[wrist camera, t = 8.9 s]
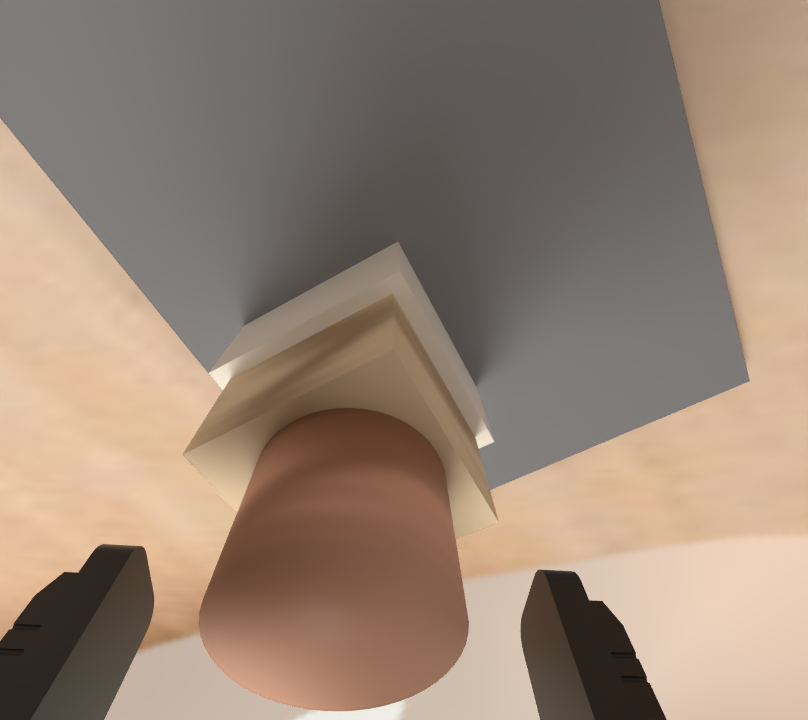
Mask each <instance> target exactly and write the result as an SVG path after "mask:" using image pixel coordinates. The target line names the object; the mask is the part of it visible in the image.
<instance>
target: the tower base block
mask: <svg viewBox="0 0 808 720" xmlns="http://www.w3.org/2000/svg"><path fill="white" fill-rule="evenodd" d="M392 293H393V294H394V296H395V298H396V300H397V301H398V303H399V305H400V307H401V308H402V310H403V312H404V314H405V315H406V317H407V319H408V321H409V322H410V324H411V326H412V328H413V329H414V331H415V333H416V335H417V336H418V338H419V340H420V342H421V343H422V345H423V347H424V349H425V350H426V352H427V354H428V356H429V357H430V359H431V361H432V363H433V364H434V366H435V368H436V369H437V371H438V373H439V375H440V376H441V378H442V380H443V382H444V383H445V385H446V387H447V389H448V390H449V392H450V394H451V396H452V397H453V399H454V401H455V403H456V404H457V406H458V408H459V410H460V411H461V413H462V415H463V417H464V418H465V420H466V422H467V424H468V425H469V427H470V429H471V431H472V432H473V434H474V436H475V438H476V441H477V445H478V449H479V448H482V447H484V446H486V445H488V444H491V443H493V442H494V439H493V436H492V433H491V430H490V427H489V424H488V421H487V418H486V415H485V412H484V409H483V406H482V403H481V400H480V397H479V393H478V390H477V387H476V385H475V383H474V381H473V380H472V378H471V376H470V374H469V372H468V370H467V369H466V367H465V365H464V363H463V361H462V359H461V357H460V356H459V354H458V352H457V350H456V348H455V346H454V344H453V343H452V341H451V339H450V337H449V335H448V333H447V331H446V330H445V328H444V326H443V324H442V322H441V320H440V318H439V317H438V315H437V313H436V311H435V309H434V307H433V305H432V304H431V302H430V300H429V298H428V296H427V294H426V292H425V291H424V289H423V287H422V285H421V283H420V281H419V280H418V278H417V276H416V274H415V272H414V270H413V268H412V267H411V265H410V263H409V261H408V259H407V257H406V255H405V254H404V252H403V250H402V248H401V246H400V244H399V242H396V243H394V244H392V245H391V246H389V247H387V248H385V249H383V250H381V251H380V252H378V253H376V254H374V255H372V256H370V257H369V258H367V259H365V260H363V261H361V262H359V263H358V264H356V265H354V266H352V267H350V268H349V269H347V270H345V271H343V272H341V273H339V274H338V275H336V276H334V277H332V278H330V279H328V280H327V281H325V282H323V283H321V284H319V285H317V286H316V287H314V288H312V289H310V290H308V291H306V292H305V293H303V294H301V295H299V296H297V297H295V298H294V299H292V300H290V301H288V302H286V303H285V304H283V305H281V306H279V307H277V308H275V309H274V310H272V311H270V312H268V313H266V314H264V315H263V316H261V317H259V318H257V319H255V320H253V321H252V322H250V323H248V324H246V325H244V326H243V327H242V328H241V329H240V331H239V332H238V334H237V335H236V336H235V338H234V339H233V340H232V342H231V343H230V344H229V346H228V347H227V349H226V350H225V351H224V353H223V354H222V355H221V357H220V358H219V360H218V361H217V362H216V364H215V365H214V366H213V368H212V369H211V370H210V372H209V374H210V375H211V377H212V378H213V379H214V380H215V382H216V383H217V384H218V385H219V386H220V388H221V389H222V390H224V388H225V386H226V385H227V383H228V382H229V380H230V379H231V378H233V377H234V376H236V375H238V374H240V373H242V372H244V371H246V370H248V369H250V368H252V367H253V366H255V365H257V364H259V363H261V362H263V361H265V360H267V359H269V358H270V357H272V356H274V355H276V354H278V353H280V352H282V351H284V350H286V349H288V348H289V347H291V346H293V345H295V344H297V343H299V342H301V341H303V340H305V339H307V338H308V337H310V336H312V335H314V334H316V333H318V332H320V331H322V330H324V329H326V328H327V327H329V326H331V325H333V324H335V323H337V322H339V321H341V320H343V319H345V318H346V317H348V316H350V315H352V314H354V313H356V312H358V311H360V310H362V309H364V308H365V307H367V306H369V305H371V304H373V303H375V302H377V301H379V300H381V299H383V298H384V297H386V296H388V295H390V294H392Z"/></svg>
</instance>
